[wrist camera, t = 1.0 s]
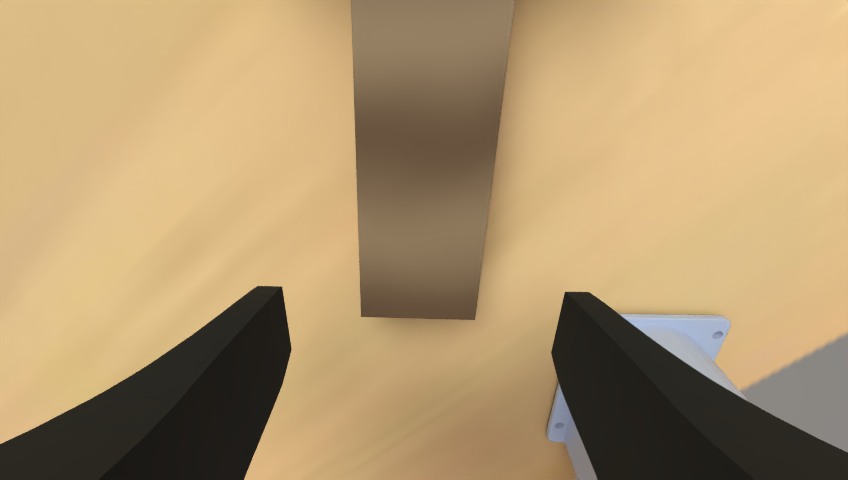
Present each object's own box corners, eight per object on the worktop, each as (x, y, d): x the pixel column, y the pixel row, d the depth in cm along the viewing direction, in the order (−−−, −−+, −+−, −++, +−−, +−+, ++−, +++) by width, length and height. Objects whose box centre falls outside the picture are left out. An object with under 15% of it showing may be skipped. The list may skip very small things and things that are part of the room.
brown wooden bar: (464, 263, 20) (474, 320, 17) (372, 260, 20) (361, 316, 16) (500, -95, 14) (532, -142, 10) (366, -104, 14) (346, -153, 10)
